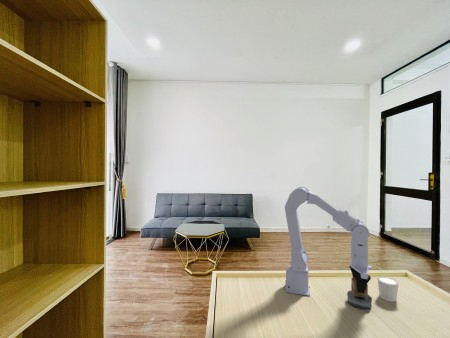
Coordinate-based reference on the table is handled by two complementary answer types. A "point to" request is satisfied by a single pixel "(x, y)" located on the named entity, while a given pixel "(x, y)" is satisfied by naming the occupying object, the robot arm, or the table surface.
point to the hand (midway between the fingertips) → (359, 288)
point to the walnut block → (354, 289)
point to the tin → (359, 301)
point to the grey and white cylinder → (388, 288)
